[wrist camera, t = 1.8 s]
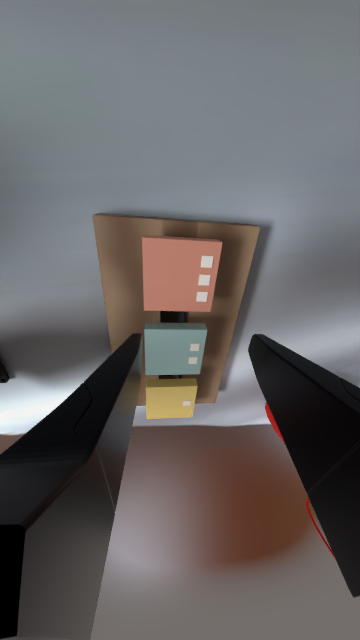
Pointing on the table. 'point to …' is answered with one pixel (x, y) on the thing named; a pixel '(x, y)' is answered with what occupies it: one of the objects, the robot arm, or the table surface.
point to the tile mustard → (170, 398)
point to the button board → (129, 316)
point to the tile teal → (174, 348)
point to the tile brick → (179, 273)
